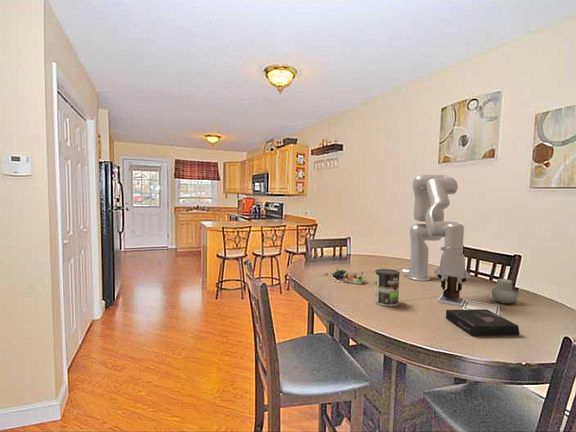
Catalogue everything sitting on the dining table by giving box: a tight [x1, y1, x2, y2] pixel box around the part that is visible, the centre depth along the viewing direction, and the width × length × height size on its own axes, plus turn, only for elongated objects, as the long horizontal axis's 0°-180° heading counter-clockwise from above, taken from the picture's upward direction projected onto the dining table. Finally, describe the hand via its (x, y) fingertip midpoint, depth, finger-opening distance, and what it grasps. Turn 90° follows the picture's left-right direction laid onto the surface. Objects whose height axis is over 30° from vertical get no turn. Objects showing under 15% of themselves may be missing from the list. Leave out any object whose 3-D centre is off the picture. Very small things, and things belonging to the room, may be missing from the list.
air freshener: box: [491, 278, 518, 305], centre depth 153 cm, size 11×8×10 cm
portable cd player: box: [445, 309, 520, 337], centre depth 124 cm, size 16×17×4 cm
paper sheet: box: [461, 299, 501, 316], centre depth 144 cm, size 13×15×1 cm
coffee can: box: [374, 268, 401, 307], centre depth 150 cm, size 10×10×14 cm
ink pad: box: [436, 294, 466, 308], centre depth 153 cm, size 10×10×1 cm
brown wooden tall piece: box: [442, 276, 461, 299], centre depth 152 cm, size 7×6×18 cm
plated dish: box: [331, 268, 368, 285], centre depth 191 cm, size 35×28×7 cm
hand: (451, 290), depth 153 cm, fingers closed on brown wooden tall piece, 5 cm apart
